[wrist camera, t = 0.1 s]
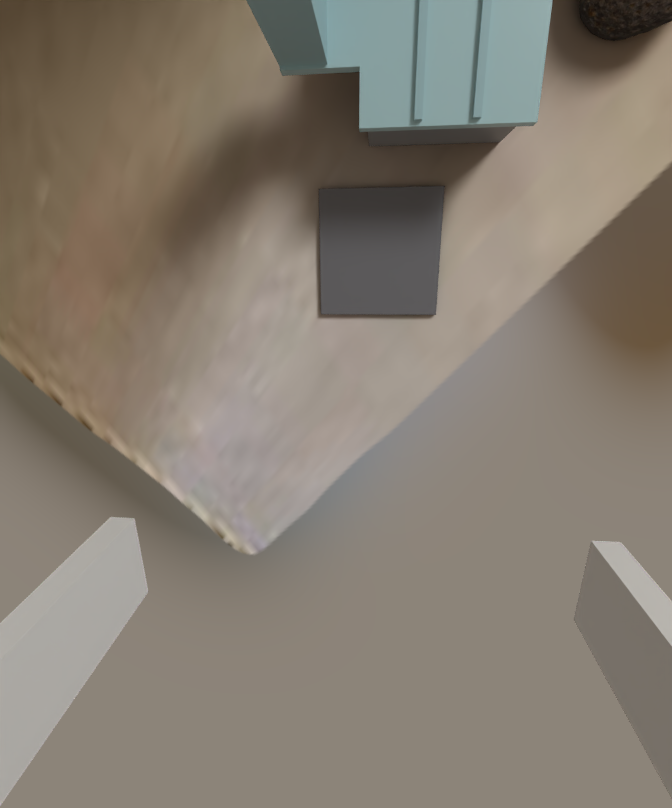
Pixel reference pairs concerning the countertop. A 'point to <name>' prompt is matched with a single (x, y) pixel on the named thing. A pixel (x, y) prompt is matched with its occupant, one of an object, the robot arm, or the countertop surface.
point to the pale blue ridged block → (419, 56)
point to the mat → (380, 249)
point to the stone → (624, 16)
